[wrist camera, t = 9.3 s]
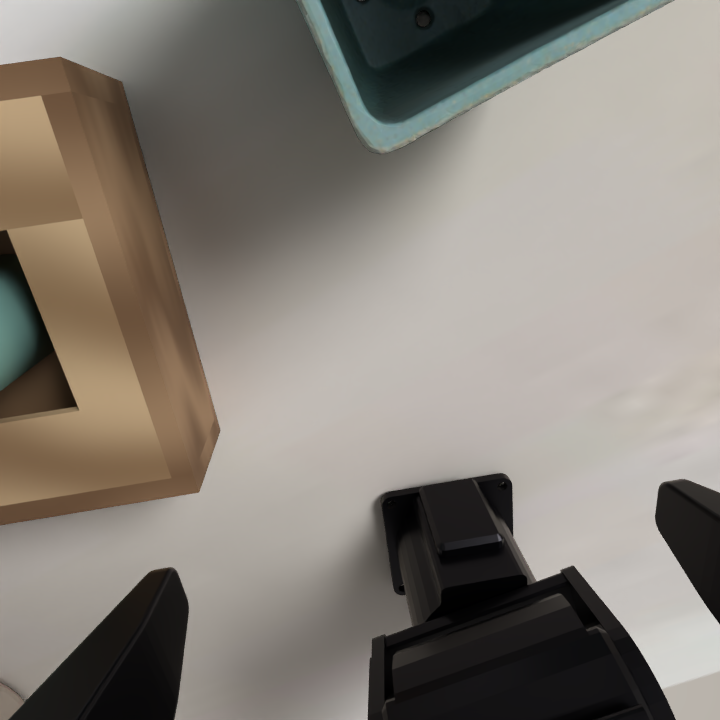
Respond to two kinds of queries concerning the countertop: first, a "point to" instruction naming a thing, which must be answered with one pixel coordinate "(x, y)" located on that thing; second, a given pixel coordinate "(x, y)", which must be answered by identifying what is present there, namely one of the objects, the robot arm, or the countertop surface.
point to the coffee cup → (8, 702)
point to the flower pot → (446, 54)
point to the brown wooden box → (93, 307)
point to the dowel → (19, 324)
